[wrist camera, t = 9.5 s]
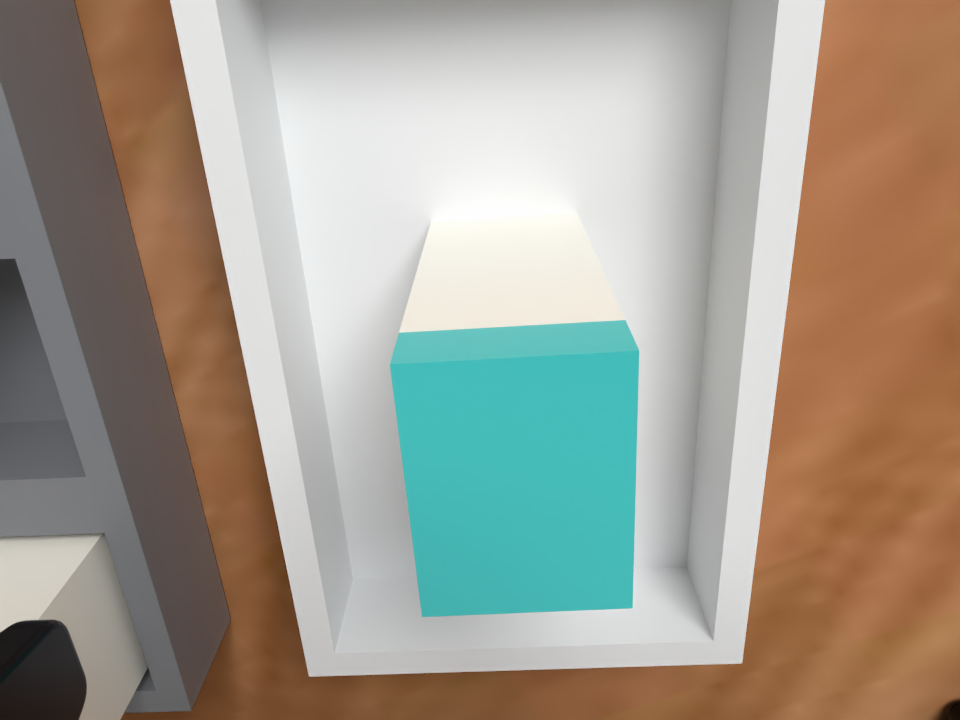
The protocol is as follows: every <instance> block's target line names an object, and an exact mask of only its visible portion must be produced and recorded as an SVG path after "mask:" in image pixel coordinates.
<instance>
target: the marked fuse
mask: <svg viewBox="0 0 960 720" xmlns="http://www.w3.org/2000/svg"><path fill="white" fill-rule="evenodd" d="M390 370H391V378H392V386H393V394H394V402H395V409H396V417H397V425H398V433H399V441H400V449H401V456H402V464H403V472H404V480H405V488H406V496H407V503H408V511H409V519H410V527H411V535H412V543H413V550H414V558H415V566H416V574H417V582H418V590H419V597H420V605H421V613H422V617H437V616H461V615H485V614H509V613H533V612H557V611H581V610H605V609H629V608H633V574H634V536H635V498H636V459H637V421H638V383H639V349H638V347H637V345H636V342H635V340H634V338H633V336H632V333H631V331H630V329H629V327H628V325H627V322H626V320H625V318H624V316H623V314H622V311H621V309H620V307H619V305H618V302H617V300H616V298H615V296H614V294H613V291H612V289H611V287H610V285H609V283H608V280H607V278H606V276H605V274H604V271H603V269H602V267H601V265H600V263H599V260H598V258H597V256H596V254H595V252H594V249H593V247H592V245H591V243H590V240H589V238H588V236H587V234H586V232H585V229H584V227H583V225H582V223H581V220H580V218H579V216H578V214H577V212H572V213H555V214H539V215H523V216H507V217H491V218H474V219H458V220H442V221H431V223H430V227H429V230H428V233H427V237H426V240H425V244H424V247H423V251H422V254H421V258H420V261H419V265H418V268H417V272H416V275H415V279H414V282H413V286H412V289H411V292H410V296H409V299H408V303H407V306H406V310H405V313H404V317H403V320H402V324H401V327H400V331H399V334H398V338H397V341H396V345H395V348H394V351H393V355H392V358H391V362H390Z"/></svg>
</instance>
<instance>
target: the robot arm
mask: <svg viewBox="0 0 960 720" xmlns="http://www.w3.org/2000/svg"><path fill="white" fill-rule="evenodd" d="M86 694H87V682H86V676H85V673H84V670H83V668H82V665H81V663H80V660H79V657H78V655H77V652H76V649H75V647H74V644H73V641H72V639H71V636H70V633H69V631H68V629H67V627H66V626H65V625H64V624H63V623H62V622H61V621H58V620H53V619H52V620H25V621H20V622H17V623H14V624H12V625H11V626H9V627H7V628H6V629H4V630H3V631H1V632H0V720H79V718H80V715H81V712H82V710H83V707H84V703H85V699H86ZM947 720H960V703H959V704H956V705H955V706H954V707H953V708H952V709H951V710H950V712H949V714H948V717H947Z"/></svg>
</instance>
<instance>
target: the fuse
mask: <svg viewBox="0 0 960 720" xmlns="http://www.w3.org/2000/svg"><path fill="white" fill-rule="evenodd" d="M52 619H53V620H58V621H61V622H62V623H63V624H64V625H65V626H66V627H67V629H68V631H69V633H70V636H71V639H72V641H73V644H74V647H75V649H76V652H77V655H78V657H79V660H80V663H81V665H82V668H83V670H84V673H85V676H86V682H87V694H86V699H85V703H84V707H83V710H82V712H81V715H80V718H79V720H120V719H121V717H122V716H123V714H124V712H125V710H126V708H127V706H128V704H129V702H130V700H131V698H132V697H133V695H134V693H135V691H136V689H137V687H138V685H139V683H140V681H141V679H142V678H143V676H144V674H145V672H146V670H147V668H148V665H147V662H146V659H145V656H144V653H143V650H142V647H141V644H140V641H139V638H138V635H137V631H136V628H135V625H134V622H133V619H132V616H131V613H130V610H129V607H128V604H127V601H126V598H125V595H124V592H123V589H122V585H121V582H120V579H119V576H118V573H117V570H116V567H115V564H114V561H113V558H112V555H111V552H110V549H109V546H108V542H107V539H106V536H105V533H91V534H64V535H37V536H11V537H0V632H1V631H3V630H4V629H6V628H7V627H9V626H11V625H12V624H14V623H17V622H20V621H25V620H52Z"/></svg>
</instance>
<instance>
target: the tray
mask: <svg viewBox="0 0 960 720" xmlns="http://www.w3.org/2000/svg"><path fill="white" fill-rule="evenodd" d="M170 2H171V7H172V12H173V17H174V22H175V26H176V31H177V36H178V41H179V46H180V51H181V56H182V61H183V65H184V70H185V75H186V80H187V85H188V90H189V95H190V100H191V104H192V109H193V114H194V119H195V124H196V129H197V134H198V139H199V143H200V148H201V153H202V158H203V163H204V168H205V173H206V178H207V182H208V187H209V192H210V197H211V202H212V207H213V212H214V217H215V221H216V226H217V231H218V236H219V241H220V246H221V251H222V256H223V260H224V265H225V270H226V275H227V280H228V285H229V290H230V295H231V299H232V304H233V309H234V314H235V319H236V324H237V329H238V333H239V338H240V343H241V348H242V353H243V358H244V363H245V368H246V372H247V377H248V382H249V387H250V392H251V397H252V402H253V407H254V411H255V416H256V421H257V426H258V431H259V436H260V441H261V446H262V450H263V455H264V460H265V465H266V470H267V475H268V480H269V485H270V489H271V494H272V499H273V504H274V509H275V514H276V519H277V524H278V528H279V533H280V538H281V543H282V548H283V553H284V558H285V563H286V567H287V572H288V577H289V582H290V587H291V592H292V597H293V602H294V606H295V611H296V616H297V621H298V626H299V631H300V636H301V641H302V645H303V650H304V655H305V660H306V665H307V670H308V675H309V677H315V676H348V675H380V674H413V673H445V672H478V671H510V670H543V669H575V668H608V667H640V666H673V665H705V664H738V663H742V660H743V652H744V644H745V636H746V628H747V620H748V612H749V604H750V596H751V588H752V580H753V572H754V564H755V556H756V548H757V540H758V532H759V524H760V516H761V508H762V500H763V492H764V484H765V476H766V468H767V460H768V452H769V444H770V436H771V428H772V420H773V412H774V404H775V396H776V388H777V380H778V372H779V364H780V356H781V348H782V340H783V332H784V324H785V316H786V308H787V300H788V292H789V284H790V276H791V268H792V260H793V252H794V244H795V236H796V228H797V220H798V212H799V204H800V196H801V188H802V180H803V172H804V164H805V156H806V148H807V140H808V132H809V124H810V116H811V108H812V100H813V92H814V84H815V76H816V68H817V60H818V52H819V44H820V36H821V28H822V20H823V12H824V4H825V0H170ZM572 212H577V214H578V216H579V218H580V220H581V223H582V225H583V227H584V229H585V232H586V234H587V236H588V238H589V240H590V243H591V245H592V247H593V249H594V252H595V254H596V256H597V258H598V260H599V263H600V265H601V267H602V269H603V271H604V274H605V276H606V278H607V280H608V283H609V285H610V287H611V289H612V291H613V294H614V296H615V298H616V300H617V302H618V305H619V307H620V309H621V311H622V314H623V316H624V318H625V320H626V322H627V325H628V327H629V329H630V331H631V333H632V336H633V338H634V340H635V342H636V345H637V347H638V349H639V383H638V421H637V459H636V498H635V536H634V574H633V608H629V609H605V610H581V611H557V612H533V613H509V614H485V615H461V616H437V617H422V613H421V605H420V597H419V590H418V582H417V574H416V566H415V558H414V550H413V543H412V535H411V527H410V519H409V511H408V503H407V496H406V488H405V480H404V472H403V464H402V456H401V449H400V441H399V433H398V425H397V417H396V409H395V402H394V394H393V386H392V378H391V370H390V362H391V358H392V355H393V351H394V348H395V345H396V341H397V338H398V334H399V331H400V327H401V324H402V320H403V317H404V313H405V310H406V306H407V303H408V299H409V296H410V292H411V289H412V286H413V282H414V279H415V275H416V272H417V268H418V265H419V261H420V258H421V254H422V251H423V247H424V244H425V240H426V237H427V233H428V230H429V227H430V223H431V221H442V220H458V219H474V218H491V217H507V216H523V215H539V214H555V213H572Z"/></svg>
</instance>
